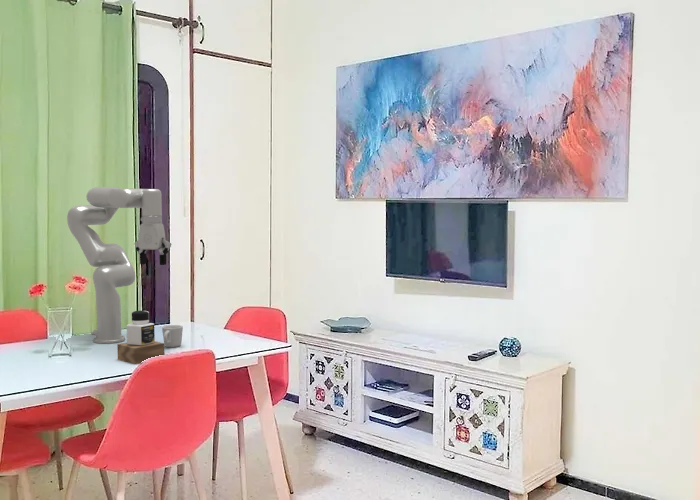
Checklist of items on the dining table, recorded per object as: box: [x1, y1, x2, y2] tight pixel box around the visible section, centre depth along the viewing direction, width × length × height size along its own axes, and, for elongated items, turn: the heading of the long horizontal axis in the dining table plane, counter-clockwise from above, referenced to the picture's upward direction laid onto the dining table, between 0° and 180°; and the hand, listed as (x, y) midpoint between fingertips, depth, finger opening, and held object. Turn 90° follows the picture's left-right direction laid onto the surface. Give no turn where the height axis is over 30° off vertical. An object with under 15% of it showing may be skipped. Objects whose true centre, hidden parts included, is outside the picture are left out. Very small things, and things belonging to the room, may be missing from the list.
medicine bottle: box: [126, 310, 156, 345], centre depth 256 cm, size 7×7×12 cm
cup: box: [161, 324, 184, 348], centre depth 278 cm, size 11×8×8 cm
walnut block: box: [116, 341, 166, 365], centre depth 257 cm, size 12×12×6 cm
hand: (153, 264), depth 274 cm, fingers open, 9 cm apart
